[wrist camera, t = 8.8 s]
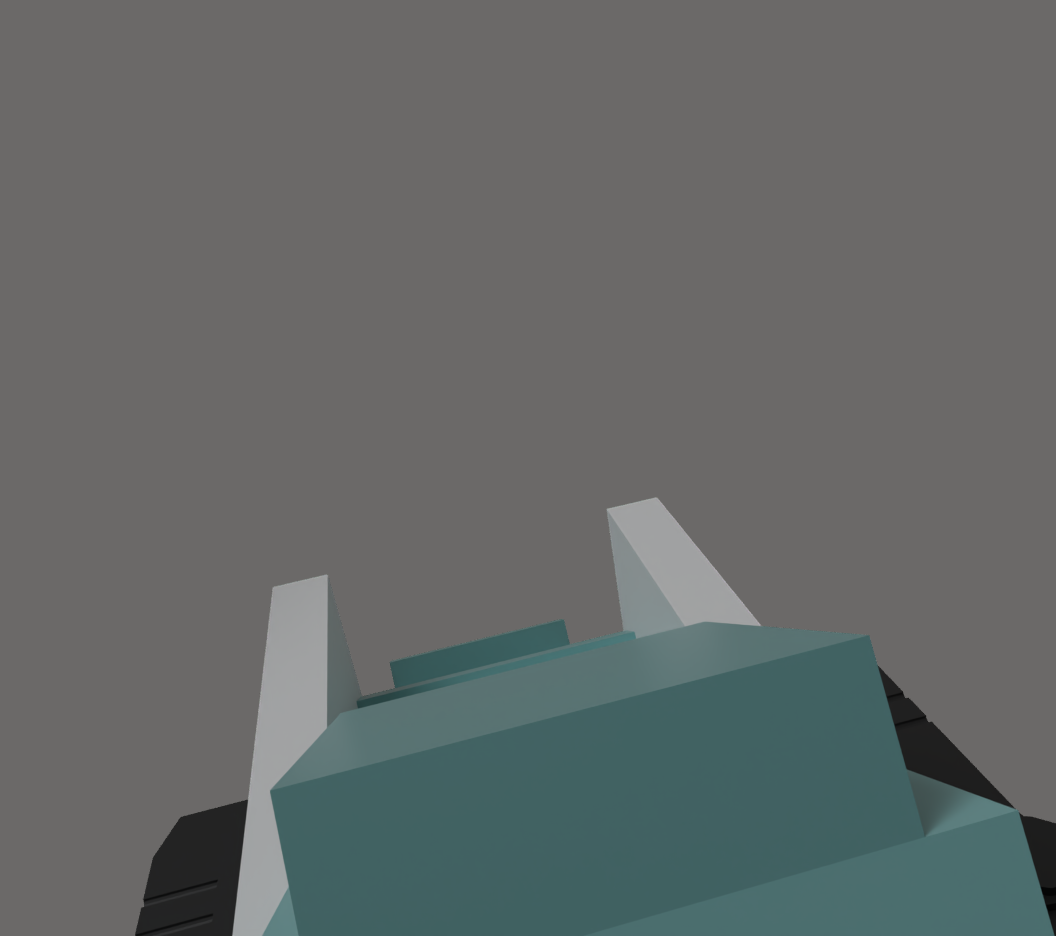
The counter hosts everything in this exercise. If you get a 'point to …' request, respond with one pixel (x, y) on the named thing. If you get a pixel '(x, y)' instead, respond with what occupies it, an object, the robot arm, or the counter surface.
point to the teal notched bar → (640, 799)
